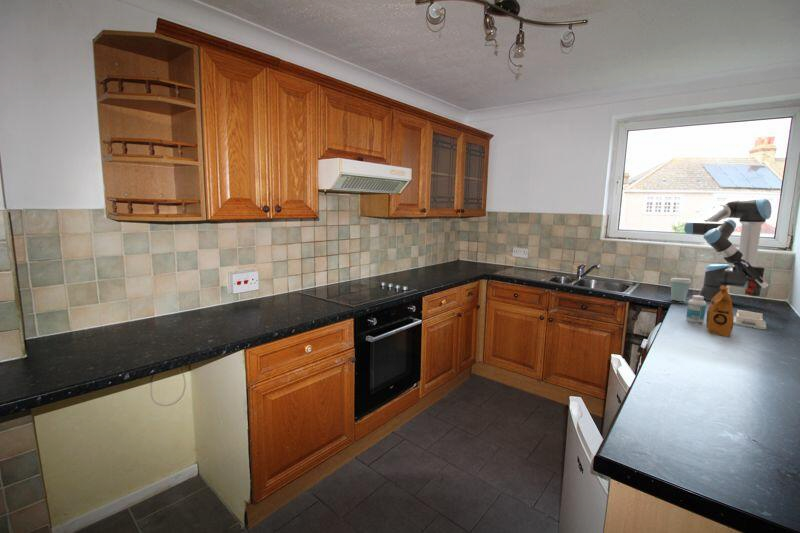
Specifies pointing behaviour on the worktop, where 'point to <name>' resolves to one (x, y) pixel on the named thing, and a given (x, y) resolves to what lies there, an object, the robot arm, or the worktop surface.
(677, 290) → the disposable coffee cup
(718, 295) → the coffee package
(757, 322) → the cream square open box
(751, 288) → the deodorant
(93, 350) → the worktop surface
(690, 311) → the pill bottle
